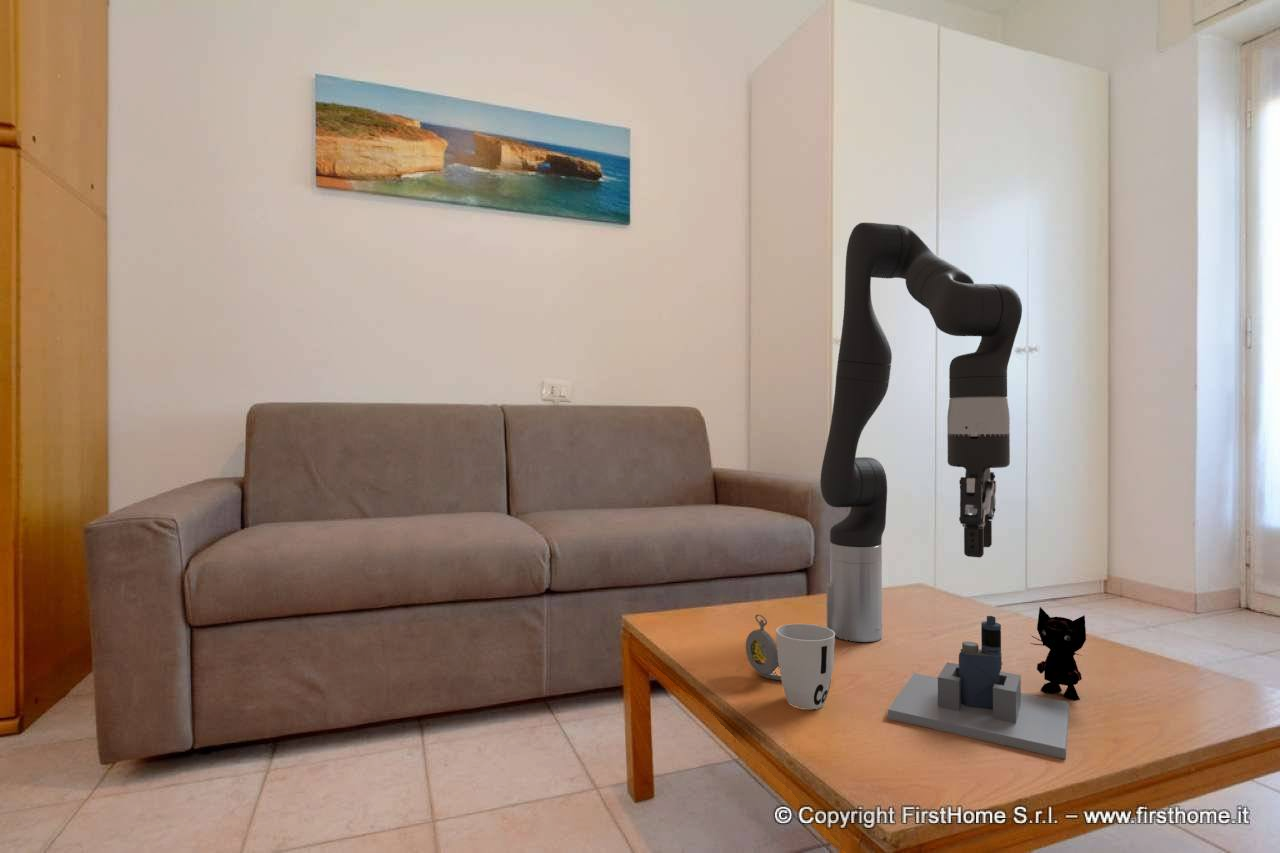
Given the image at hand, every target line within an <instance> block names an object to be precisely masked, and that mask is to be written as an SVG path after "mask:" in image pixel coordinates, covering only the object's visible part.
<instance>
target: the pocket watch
mask: <svg viewBox="0 0 1280 853" xmlns="http://www.w3.org/2000/svg"><path fill="white" fill-rule="evenodd" d="M757 617H761V618H762V619H760V621H759V620H758V618H757ZM754 618H755V621H756V622H757V623H758V625H759V627H760V628H757V629H754V630H752V631H750V632H749V634H748V635H747V637H746V640H745V641H746V642H745V653H746V656H747V660H748V662H749V664H750V665H751V667H752V668H753V670H754V671H756V672H757V673H758V674H759V675H760V676H762V677H764V678H767V679H771V680H775V681H776V680H778V681H782V680H781V676H778V675H777V674H776V672H775V673H774V674H776V675H774V674H773V671H775V669H776V668H777V667H779V662H778V652H777V643H775V640H774V638H773V637H772V636H771V634H770V633H769V632H768V631H766V630H765V629H764V627H766V625H768V621H767V618H765V616H763V615H761V614H756V615H755V616H754ZM764 621H765V622H764ZM762 660H763V661H764V662H762ZM778 669H779V668H778ZM771 674H773V675H771Z"/></svg>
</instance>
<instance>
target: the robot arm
mask: <svg viewBox="0 0 1280 853" xmlns="http://www.w3.org/2000/svg"><path fill="white" fill-rule="evenodd" d="M844 269H845V270H844V272H845V275H844V276H845V277H844V278H845V280H844V300H843V302H844V305H843V306H844V307H843V317H842V319H843V320H842V328H841V336H840V344H839V350H838V357H837V364H836V365H837V366H836V375H835V386H834V396H833V404H832V414H831V420H830V426H829V433H828V437H827V440H826V441H827V442H826V446H825V451H824V454H823V460H822V465H821V470H820V471H821V472H820V482H819V484H820V491H821V495H822V498H823V500H824V501H825V503H826V504H827V505H828V506H830V507H832V508H850V511H849V513H848V515H846V517H845V518H844V519H843V520H842V521H840V522H838V523H836V524H834V525H833V526H832V527H831V528H830V531H829V565H830V566H829V568H830V570H829V572H830V575H829V578H830V579H829V580H830V581H829V582H827V583H826V628H829V629H831V630H832V631H834V632H835V636H836V637H835V638H837V637H838V638H837V639H840V640H843V639H844V640H843V641H848V640H849V642H857V643H859V642H860V643H869V642H877V641H880V640H882V638H883V570H882V569H883V568H882V567H883V566H882V565H883V563H882V562H883V560H882V558H883V557H882V556H883V555H882V553H883V552H882V551H883V550H882V549H883V548H882V547H883V546H882V544H883V543H882V540H883V539H882V538H883V535H884V532H885V529H886V522H887V521H886V519H887V503H888V479H887V475H886V471H885V468H884V466H883V465H882V463H881V462H880V461H879V460H877V459H876V458H873V457H865V456H864V457H856V455H857V449H858V446H859V441H860V437H861V435H862V432H863V430H864V429H865V427H866V425H867V423H868V422H869V420H870V419H871V418H872V417H873V415H874V414H875V412H876V411H877V409H878V408H879V406H880V405H881V403H882V402H883V400H884V398H885V396H886V394H887V391H888V389H889V385H890V384H889V383H890V376H891V370H892V361H893V360H892V359H893V356H892V354H893V352H892V348H891V346H890V343H889V341H888V338H887V336H886V334H885V332H884V329H883V328H882V326H881V323H880V322H879V320H878V318H877V315H876V313H875V310H874V307H873V303H872V292H871V291H872V290H871V284H872V283H871V281H872V278H877V279H897V278H898V279H903V280H905V287H906V289H907V291H908V293H909V295H910V296H911V297H912V299H914V300H915V301H916V302H918V303H919V304H920V305H921V306H923V307H925V308H926V309H927V310H928V311H929V313H930V315H931V318H932V319H933V321H934V324H935V326H936V328H937V329H938V330H939V331H941V332H942V333H945V334H946V335H949V336H954V337H981V338H980V342H979V345H978V347H977V349H976V350H975V352H969V353H965V354H961V355H957V356H955V357H953V358H952V359H951V361H950V364H949V373H948V375H949V376H948V380H949V384H948V385H949V389H948V390H949V391H948V392H949V394H948V395H949V399H948V410H947V417H946V418H947V419H946V420H947V427H946V428H947V429H946V430H947V433H946V434H947V464H948V465H949V466H951V467H953V468H954V467H956V468H964V469H965V476H963V477H962V476H961V477H960V479H959V489H960V490H959V494H960V495H959V517H958V519H959V520H958V521H959V522H960V524H961V525H962V527H963V545H964V546H963V553H964V555H965V556H966V557H969V558H978V559H979V558H982V557H983V556H984V552H985V551H984V550H985V549H984V548H990V547H991V546H992V543H993V539H992V538H993V534H992V533H993V532H992V531H993V527H992V526H993V524H992V523H993V522H992V521H993V520H994V517H995V512H996V502H997V500H996V499H997V498H996V493H997V492H996V491H997V480H995V478H996V474H995V472H994V471H991V469H998V468H999V469H1002V468H1003V469H1004V468H1007V467H1009V466H1010V464H1011V462H1010V460H1011V458H1010V457H1011V455H1010V453H1011V450H1010V449H1011V446H1010V441H1011V440H1010V439H1011V438H1010V432H1011V431H1010V429H1011V428H1010V420H1011V419H1010V408H1009V403H1008V366H1009V362H1010V359H1011V355H1012V350H1013V348H1014V344H1015V340H1016V338H1017V334H1018V330H1019V327H1020V323H1021V320H1022V316H1023V315H1022V313H1023V305H1022V301H1021V298H1020V295H1019V293H1018V292H1017V291H1016V290H1015V289H1014V288H1013V287H1012V286H1010V285H1008V284H1003V283H975V282H974V279H973V278H972V276H971V275H970V274H969V273H967V272H966V271H965V270H963V269H962V268H960V267H958V266H956V265H954V264H953V263H952V262H949V261H947V260H945V259H944V258H941V257H940V256H939V255H938V254H936V253H935V251H933V250H932V248H930V247H929V246H928V244H926V243H925V241H924V240H923V239H922V238H921V237H920V236H919V235H918V234H917V233H916V231H914V230H912V229H911V228H910V227H908V226H906V225H902V224H891V223H877V222H860V223H858V224H856V225H855V226H854V227H853V229H852V230H851V233H850V235H849V238H848V242H847V247H846V254H845V268H844Z"/></svg>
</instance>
